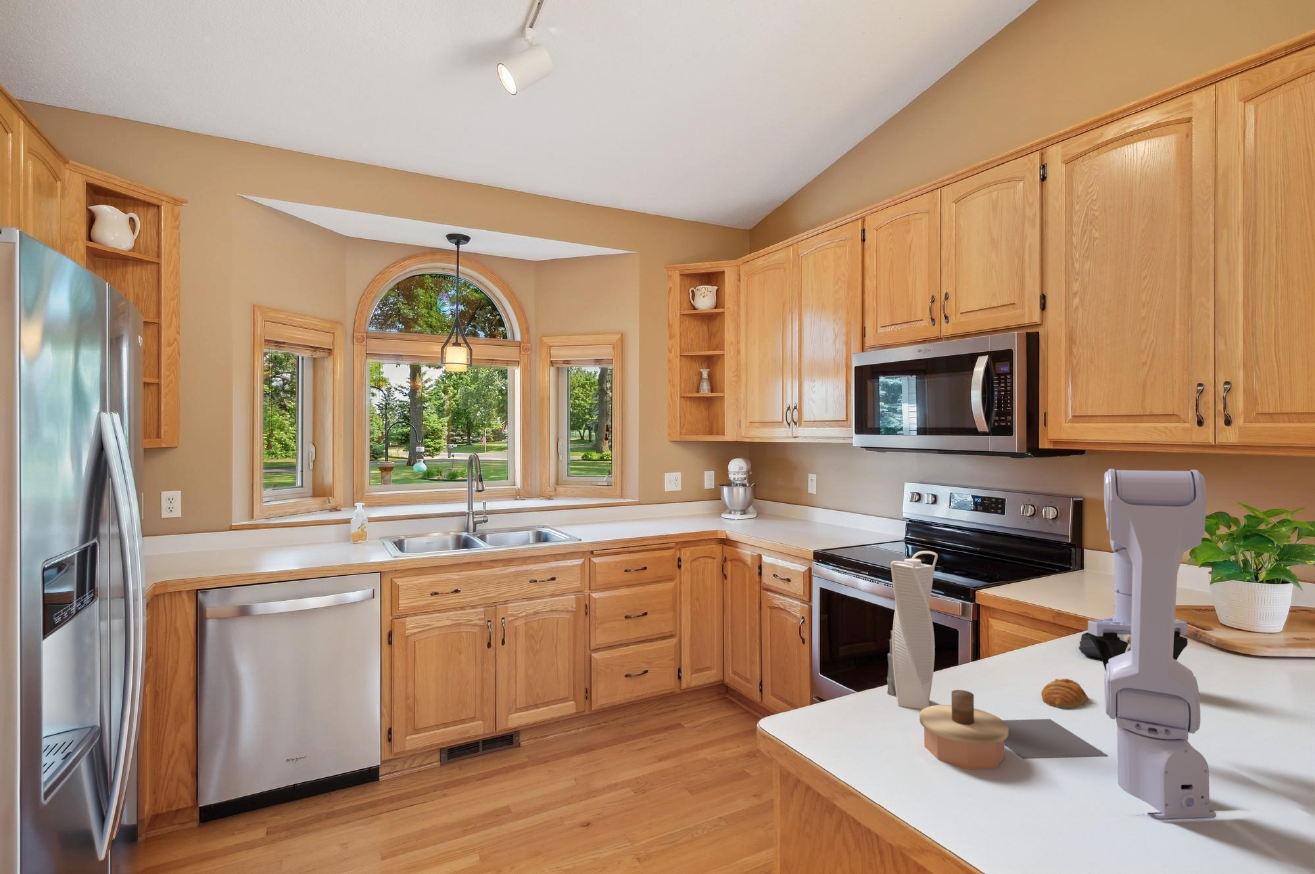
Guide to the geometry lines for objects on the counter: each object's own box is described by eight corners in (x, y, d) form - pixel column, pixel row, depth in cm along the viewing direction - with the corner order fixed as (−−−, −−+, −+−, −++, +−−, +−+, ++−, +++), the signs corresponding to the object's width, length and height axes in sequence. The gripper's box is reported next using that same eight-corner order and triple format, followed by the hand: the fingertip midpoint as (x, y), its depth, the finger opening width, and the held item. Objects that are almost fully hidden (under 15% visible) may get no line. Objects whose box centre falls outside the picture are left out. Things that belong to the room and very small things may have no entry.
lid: (1026, 743, 91) (1025, 709, 91) (941, 744, 91) (940, 709, 91) (982, 709, 103) (981, 679, 103) (906, 709, 103) (906, 679, 103)
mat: (1108, 760, 95) (1108, 755, 95) (1022, 763, 95) (1022, 757, 95) (1050, 723, 108) (1050, 718, 108) (974, 725, 108) (974, 720, 108)
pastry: (1077, 718, 111) (1077, 695, 111) (1033, 708, 116) (1033, 686, 116) (1089, 702, 118) (1088, 681, 118) (1047, 693, 122) (1046, 673, 123)
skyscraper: (935, 701, 118) (934, 548, 119) (942, 719, 111) (940, 555, 111) (886, 697, 121) (885, 546, 121) (889, 714, 113) (888, 553, 113)
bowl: (1016, 772, 92) (1016, 740, 92) (947, 774, 91) (947, 742, 91) (978, 740, 102) (977, 711, 102) (915, 742, 101) (915, 713, 101)
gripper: (1159, 586, 105) (1161, 671, 105) (1073, 587, 104) (1074, 672, 104) (1198, 596, 98) (1200, 687, 98) (1106, 598, 97) (1107, 689, 97)
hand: (1138, 680), depth 100 cm, fingers open, 7 cm apart
